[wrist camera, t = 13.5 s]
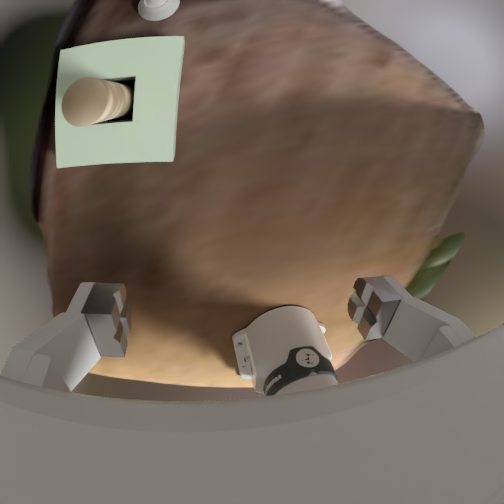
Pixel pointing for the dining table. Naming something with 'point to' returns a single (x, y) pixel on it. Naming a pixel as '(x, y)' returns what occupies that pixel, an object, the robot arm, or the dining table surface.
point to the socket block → (144, 109)
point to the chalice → (157, 9)
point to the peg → (96, 101)
